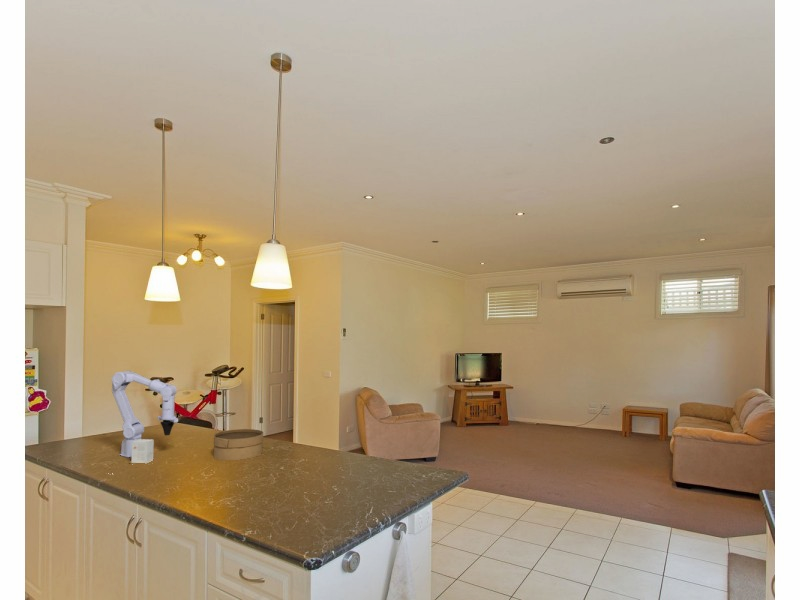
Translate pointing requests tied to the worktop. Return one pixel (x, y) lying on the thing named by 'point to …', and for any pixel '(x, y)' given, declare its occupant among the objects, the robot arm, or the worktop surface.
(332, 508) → the worktop surface
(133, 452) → the small box
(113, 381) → the robot arm
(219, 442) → the steamer basket
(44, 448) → the worktop surface
